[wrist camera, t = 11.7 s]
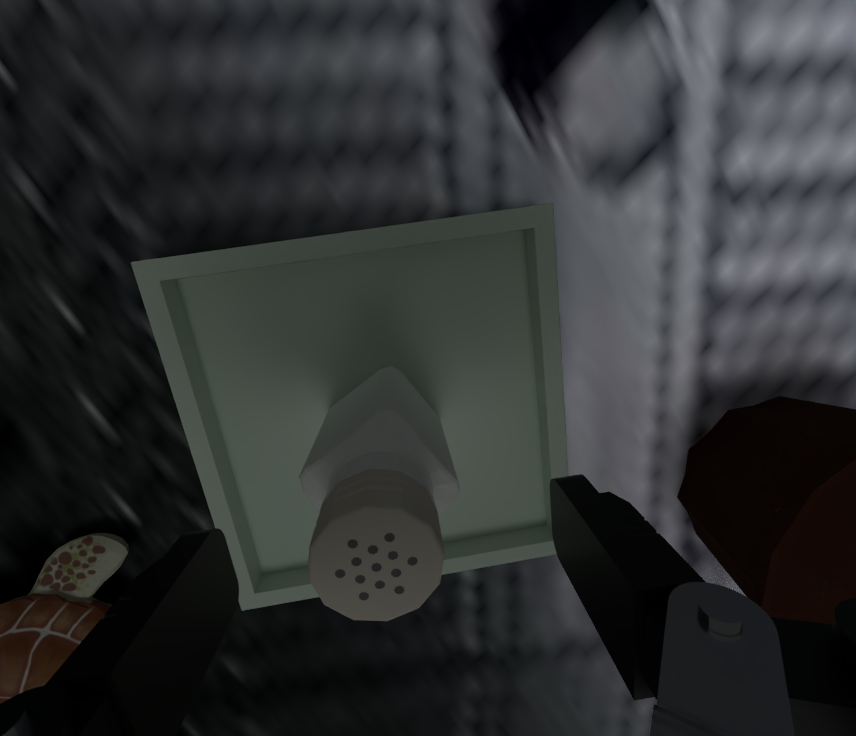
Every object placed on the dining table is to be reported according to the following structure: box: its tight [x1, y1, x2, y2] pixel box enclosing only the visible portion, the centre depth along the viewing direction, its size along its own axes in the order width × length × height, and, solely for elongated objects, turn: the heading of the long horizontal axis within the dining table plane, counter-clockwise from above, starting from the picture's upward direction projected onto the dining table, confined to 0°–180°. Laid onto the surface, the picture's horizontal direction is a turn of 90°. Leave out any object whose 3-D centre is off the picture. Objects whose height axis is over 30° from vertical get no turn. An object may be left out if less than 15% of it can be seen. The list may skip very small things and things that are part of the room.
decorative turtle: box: [0, 533, 129, 704], centre depth 19 cm, size 18×17×5 cm
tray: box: [131, 203, 568, 611], centre depth 18 cm, size 16×16×2 cm
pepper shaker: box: [299, 366, 460, 621], centre depth 14 cm, size 4×4×10 cm
